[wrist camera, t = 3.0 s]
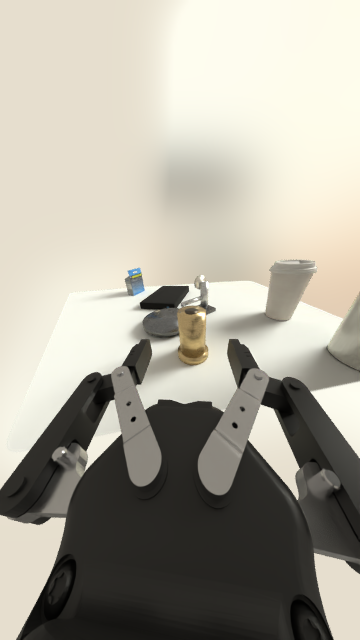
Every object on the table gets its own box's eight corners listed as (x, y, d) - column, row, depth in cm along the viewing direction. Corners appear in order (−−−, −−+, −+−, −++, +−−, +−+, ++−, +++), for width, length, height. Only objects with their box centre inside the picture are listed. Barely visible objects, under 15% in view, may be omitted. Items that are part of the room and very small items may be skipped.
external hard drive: (188, 291, 69) (188, 285, 67) (174, 311, 50) (174, 303, 48) (163, 291, 73) (162, 286, 71) (141, 309, 54) (139, 302, 52)
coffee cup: (287, 327, 35) (309, 265, 28) (252, 314, 42) (263, 263, 35) (304, 316, 39) (328, 260, 32) (270, 306, 46) (283, 258, 39)
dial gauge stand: (203, 305, 51) (203, 273, 45) (215, 310, 47) (217, 275, 41) (177, 316, 45) (173, 281, 40) (188, 322, 41) (186, 284, 35)
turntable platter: (174, 308, 48) (173, 303, 48) (201, 323, 38) (201, 317, 37) (136, 321, 42) (135, 316, 41) (157, 343, 32) (156, 337, 31)
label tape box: (139, 290, 77) (134, 267, 71) (145, 290, 75) (140, 267, 69) (128, 295, 70) (121, 270, 64) (134, 295, 69) (127, 270, 63)
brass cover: (194, 340, 33) (193, 301, 28) (214, 354, 28) (217, 310, 23) (172, 352, 30) (167, 310, 25) (191, 370, 25) (188, 323, 20)
